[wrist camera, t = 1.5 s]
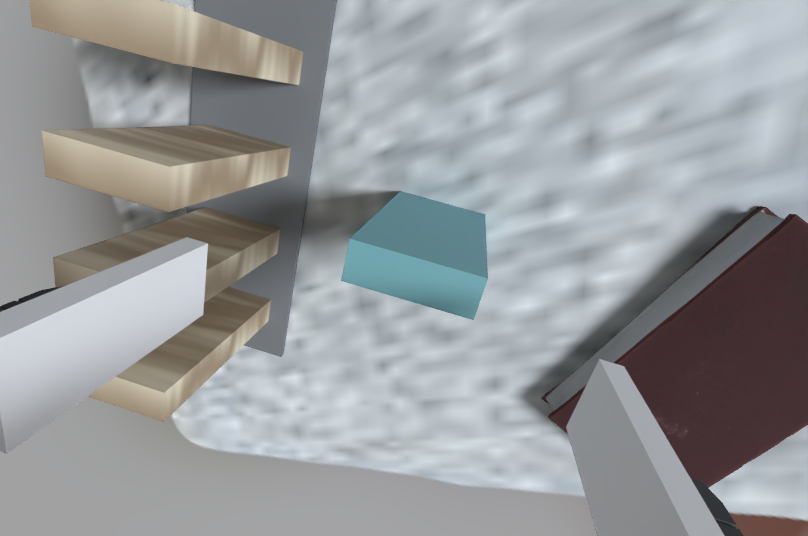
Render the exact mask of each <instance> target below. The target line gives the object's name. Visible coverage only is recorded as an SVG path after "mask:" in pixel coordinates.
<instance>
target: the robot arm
mask: <svg viewBox="0 0 808 536" xmlns="http://www.w3.org/2000/svg"><path fill="white" fill-rule="evenodd" d="M207 251H208V243H205V242H201V241H198V240H195V239H191V238H188V237H186V238H184V239H181V240H179V241H176V242H174V243H171V244H169V245H166V246H164V247H161V248H159V249H156V250H154V251H151V252H149V253H146V254H144V255H141V256H139V257H136V258H134V259H131V260H129V261H126V262H124V263H121V264H119V265H116V266H114V267H111V268H109V269H106V270H104V271H101V272H99V273H96V274H94V275H91V276H89V277H86V278H84V279H81V280H79V281H76V282H74V283H71V284H69V285H65V286H60V287H55V288H51V289H46V290H41V291H38V292H36V293H33V294H30V295H28V296H25V297H23V298H20V299H19V301H13V302H10V303H7V304H5V305H2V306H0V451H1V452H4V453H8V452H10V451H11V450H13V449H14V448H15V447H17V446H18V445H20V444H21V443H22V442H24V441H25V440H27V439H28V438H30V437H31V436H32V435H34V434H35V433H36V432H38V431H39V430H41V429H42V428H44V427H45V426H46V425H48V424H49V423H51V422H52V421H54V420H55V419H56V418H58V417H59V416H61V415H62V414H64V413H65V412H66V411H68V410H69V409H70V408H72V407H73V406H75V405H76V404H77V403H79V402H81V401H82V400H83V399H85V398H86V397H88V396H89V395H90V394H92V393H93V392H95V391H96V390H98V389H99V388H100V387H102V386H103V385H105V384H106V383H107V382H109V381H110V380H112V379H113V378H114V377H116V376H117V375H119V374H120V373H122V372H123V371H124V370H126V369H127V368H129V367H130V366H131V365H133V364H134V363H136V362H137V361H139V360H140V359H141V358H143V357H144V356H146V355H147V354H148V353H150V352H151V351H153V350H154V349H156V348H157V347H158V346H160V345H161V344H163V343H164V342H165V341H167V340H168V339H170V338H171V337H173V336H174V335H175V334H177V333H178V332H180V331H181V330H182V329H184V328H185V327H187V326H188V325H189V324H191V323H192V322H194V321H195V320H197V319H198V318H199V317H201V316H202V315H203V311H204V296H205V281H206V266H207ZM566 429H567V432H568V436H569V439H570V443H571V446H572V450H573V453H574V457H575V460H576V464H577V467H578V471H579V474H580V478H581V481H582V485H583V488H584V492H585V495H586V499H587V502H588V505H589V509H590V512H591V516H592V519H593V523H594V526H595V530H596V533H597V536H743V535H742V533H741V532H740V530H739V529H736V524H735V522H734V521H733V519H732V517H731V516H730V514H729V513H728V511H727V509H726V508H725V506H724V505H723V503H722V502H721V501H720V500H719V499H718V498H717V497H716V496H715V495H714V494H713V493H712V492H711V491H710V490H709V489H708V488H707V487H706V486H705V484H704V483H703V482H701V481H698V480H695V479H692V478H690V477H689V475H688V473H687V472H686V470H685V468H684V467H683V465H682V463H681V462H680V460H679V458H678V456H677V455H676V453H675V451H674V450H673V448H672V446H671V445H670V443H669V441H668V440H667V438H666V436H665V435H664V433H663V431H662V429H661V428H660V426H659V424H658V423H657V421H656V419H655V418H654V416H653V414H652V413H651V411H650V409H649V408H648V406H647V404H646V403H645V401H644V399H643V397H642V396H641V394H640V392H639V391H638V389H637V387H636V386H635V384H634V382H633V381H632V379H631V377H630V376H629V374H628V372H627V370H626V369H625V367H624V366H621V365H618V364H615V363H611V362H608V361H604V360H601V359H599V361H598V363H597V365H596V367H595V369H594V371H593V373H592V375H591V377H590V379H589V381H588V383H587V385H586V387H585V389H584V391H583V393H582V395H581V397H580V399H579V401H578V404H577V406H576V408H575V410H574V412H573V414H572V416H571V418H570V420H569V422H568V424H567V426H566Z"/></svg>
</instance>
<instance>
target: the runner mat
mask: <svg viewBox="0 0 808 536" xmlns="http://www.w3.org/2000/svg"><path fill="white" fill-rule="evenodd" d="M336 2H337V0H195V12H197V13H200V14H202V15H205V16H208V17H210V18H213V19H216V20H219V21H221V22H224V23H227V24H229V25H232V26H235V27H238V28H240V29H243V30H246V31H249V32H251V33H254V34H257V35H259V36H262V37H265V38H268V39H270V40H273V41H276V42H278V43H281V44H284V45H287V46H289V47H292V48H295V49H297V50H300V51H303V59H302V67H301V75H300V82H299V85H294V84H289V83H283V82H277V81H271V80H266V79H260V78H254V77H248V76H243V75H237V74H231V73H225V72H220V71H214V70H208V69H202V68H196V67H193V73H192V98H191V122H190V126H201V125H211V126H215V127H219V128H222V129H226V130H230V131H233V132H237V133H241V134H244V135H248V136H252V137H255V138H259V139H263V140H266V141H270V142H274V143H277V144H281V145H284V146H288V147H291V152H290V159H289V167H288V175H287V176H285V177H282V178H279V179H276V180H272V181H269V182H266V183H262V184H259V185H256V186H253V187H249V188H246V189H243V190H240V191H236V192H233V193H230V194H226V195H223V196H220V197H217V198H213V199H210V200H207V201H204V202H200V203H197V204H194V205H190V206H187V213H190V212H193V211H196V210H199V209H202V208H205V207H206V208H210V209H213V210H217V211H220V212H224V213H227V214H230V215H234V216H237V217H241V218H244V219H248V220H251V221H255V222H258V223H261V224H265V225H268V226H272V227H275V228H279V229H280V236H279V244H278V251H277V254H276V255H274V256H273V257H271V258H270V259H269V260H267V261H266V262H264V263H263V264H261V265H260V266H258V267H257V268H255V269H254V270H252V271H251V272H249V273H248V274H246V275H245V276H243V277H242V278H240V279H239V280H237V281H236V282H234V283H233V284H231V285H230V286H228V287H231V288H235V289H238V290H241V291H244V292H248V293H251V294H254V295H258V296H261V297H264V298H267V299H271V305H270V313H269V320H268V322H267V323H266V324H265V325H264V326H263V327H262V328H261V329H260V330H259V331H258V332H257V333H256V334H255V335H253V336H252V337H251V338H250V339H249V340H248V341H247V342H246V343H245V344H244V345H245V346H248V347H251V348H255V349H258V350H261V351H264V352H267V353H270V354H274V355H277V356H280V357H281V356H282V355H283V353H284V346H285V340H286V333H287V326H288V320H289V313H290V307H291V300H292V293H293V287H294V280H295V273H296V267H297V260H298V254H299V247H300V240H301V234H302V227H303V221H304V214H305V207H306V201H307V194H308V188H309V181H310V174H311V168H312V161H313V154H314V148H315V141H316V135H317V128H318V121H319V115H320V108H321V102H322V95H323V88H324V82H325V75H326V68H327V62H328V55H329V49H330V42H331V35H332V29H333V22H334V16H335V9H336Z"/></svg>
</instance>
